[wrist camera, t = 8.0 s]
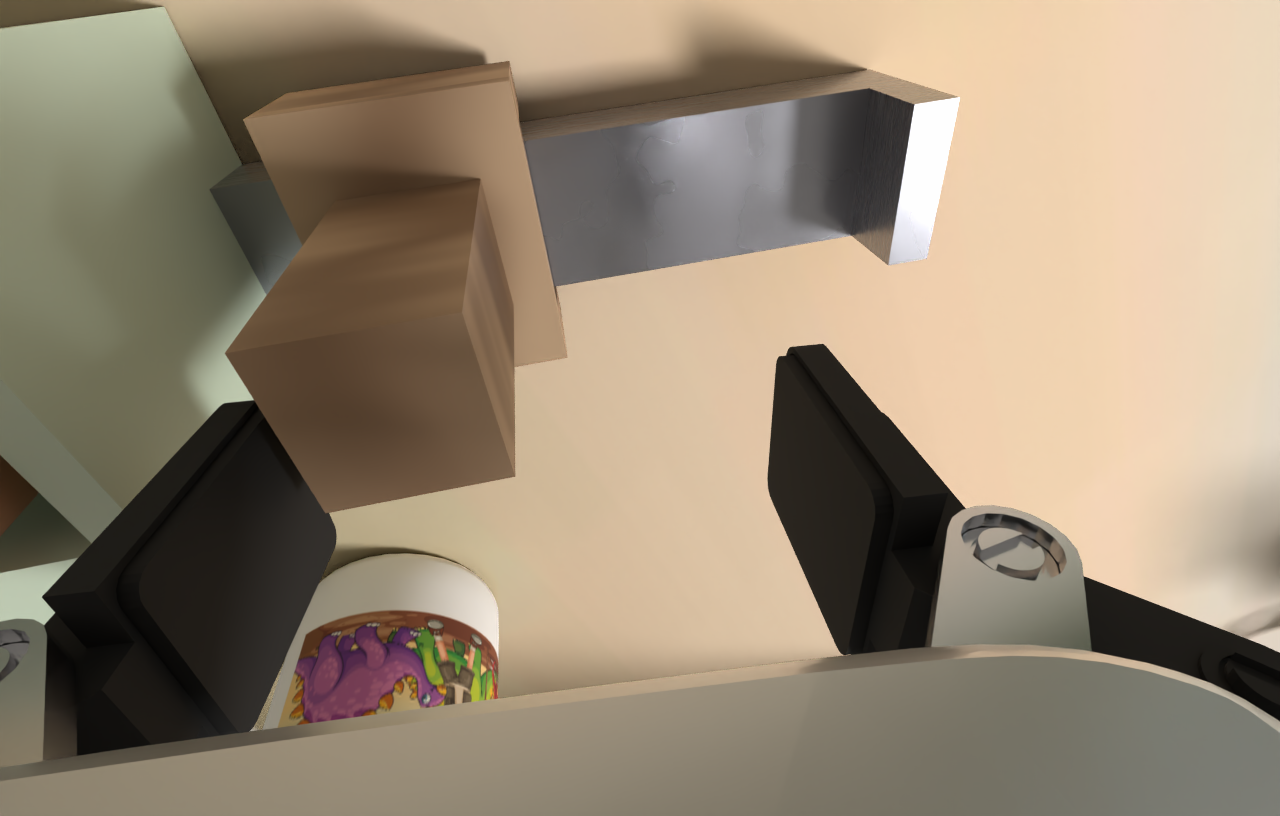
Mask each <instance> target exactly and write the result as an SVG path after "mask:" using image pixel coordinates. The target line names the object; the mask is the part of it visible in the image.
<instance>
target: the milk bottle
mask: <svg viewBox="0 0 1280 816" xmlns="http://www.w3.org/2000/svg"><path fill="white" fill-rule="evenodd" d="M498 651H499V621H498V607H497V603H496V601H495V598H494V596H493V594H492V592H491V590H490V589H489V588H488V586H487V585H486V583H485V582H484V581H483V580H482V579H481V578H480V577H478V576H477V575H476V574H475V573H474V572H473V571H471V570H469V569H467V568H465V567H463V566H462V565H460V564H457V563H454V562H451V561H449V560H446V559H443V558H438V557H433V556H429V555H420V554H409V553H403V554H385V555H380V556H373V557H367V558H364V559H361V560H358V561H355V562H351V563H349V564H347V565H345V566H343V567H341V568H339V569H337V570H335V571H334V572H332V573H331V574H330V575H329V576H327V577H326V578H324V579H323V580H322V581H321V582H320V583H319V584H318V586H317V588H316V591H315V593H314V595H313V597H312V599H311V602H310V604H309V606H308V608H307V611H306V613H305V615H304V617H303V619H302V622H301V624H300V626H299V628H298V631H297V633H296V635H295V637H294V639H293V642H292V644H291V646H290V648H289V650H288V653H287V655H286V658H285V661H284V664H283V667H282V670H281V673H280V677H279V680H278V683H277V686H276V689H275V692H274V695H273V698H272V701H271V705H270V708H269V711H268V714H267V717H266V720H265V723H264V726H263V730H265V729H272V728H280V727H287V726H295V725H302V724H309V723H317V722H324V721H331V720H339V719H346V718H354V717H361V716H369V715H376V714H384V713H392V712H399V711H407V710H414V709H422V708H430V707H437V706H445V705H452V704H460V703H468V702H475V701H483V700H491V699H498Z"/></svg>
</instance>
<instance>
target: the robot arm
mask: <svg viewBox="0 0 1280 816" xmlns="http://www.w3.org/2000/svg"><path fill="white" fill-rule="evenodd" d="M768 489H769V494H770V497H771V500H772V502H773V504H774V506H775V509H776V511H777V513H778V515H779V518H780V520H781V522H782V524H783V527H784V529H785V531H786V533H787V536H788V538H789V540H790V542H791V545H792V547H793V549H794V551H795V554H796V556H797V558H798V560H799V563H800V565H801V567H802V570H803V572H804V574H805V576H806V579H807V581H808V583H809V585H810V588H811V590H812V592H813V594H814V597H815V599H816V601H817V603H818V606H819V608H820V610H821V612H822V615H823V617H824V619H825V621H826V624H827V626H828V628H829V630H830V633H831V635H832V637H833V639H834V642H835V644H836V646H837V648H838V650H839V651H840V653H841V654H843V655H846V656H836V657H827V658H818V659H809V660H800V661H790V662H782V663H774V664H766V665H758V666H750V667H742V668H734V669H726V670H718V671H710V672H702V673H694V674H686V675H678V676H670V677H662V678H654V679H646V680H639V681H631V682H623V683H615V684H607V685H599V686H591V687H583V688H575V689H568V690H560V691H552V692H544V693H537V694H529V695H521V696H514V697H506V698H498V699H491V700H483V701H475V702H468V703H460V704H452V705H445V706H437V707H430V708H422V709H414V710H407V711H399V712H392V713H384V714H376V715H369V716H361V717H354V718H346V719H339V720H331V721H324V722H317V723H309V724H302V725H295V726H287V727H280V728H272V729H265V730H258V731H250V730H251V729H252V728H253V727H254V725H255V723H256V721H257V719H258V717H259V715H260V713H261V710H262V708H263V706H264V704H265V702H266V699H267V697H268V695H269V693H270V690H271V688H272V686H273V684H274V682H275V679H276V677H277V675H278V673H279V670H280V668H281V666H282V664H283V662H284V659H285V657H286V655H287V653H288V650H289V648H290V646H291V644H292V642H293V639H294V637H295V635H296V633H297V631H298V628H299V626H300V624H301V622H302V619H303V617H304V615H305V613H306V611H307V608H308V606H309V604H310V602H311V599H312V597H313V595H314V593H315V591H316V588H317V586H318V584H319V582H320V580H321V577H322V575H323V573H324V571H325V568H326V566H327V564H328V562H329V560H330V557H331V555H332V553H333V551H334V548H335V545H336V529H335V526H334V523H333V521H332V519H331V517H330V514H329V513H325V512H324V510H323V509H322V507H321V505H320V504H319V502H318V501H317V499H316V497H315V496H314V494H313V493H312V491H311V490H310V488H309V486H308V485H307V483H306V482H305V480H304V478H303V477H302V475H301V474H300V472H299V470H298V469H297V467H296V466H295V464H294V463H293V461H292V459H291V458H290V456H289V455H288V453H287V451H286V450H285V448H284V447H283V445H282V444H281V442H280V440H279V439H278V437H277V436H276V434H275V432H274V431H273V429H272V428H271V426H270V424H269V423H268V421H267V420H266V418H265V417H264V415H263V413H262V412H261V410H260V409H259V407H258V405H257V404H256V402H255V401H254V400H250V401H240V402H230V403H224V404H222V405H221V406H219V407H218V409H217V410H216V411H215V412H214V413H213V414H212V415H211V416H210V417H209V418H208V419H207V420H206V421H205V422H204V424H203V425H202V426H201V427H200V428H199V429H198V430H197V431H196V432H195V433H194V434H193V435H192V436H191V437H190V439H189V440H188V441H187V442H186V443H185V444H184V445H183V446H182V447H181V448H180V449H179V450H178V451H177V452H176V454H175V455H174V456H173V457H172V458H171V459H170V460H169V461H168V462H167V463H166V464H165V465H164V466H163V467H162V469H161V470H160V471H159V472H158V473H157V474H156V475H155V476H154V477H153V478H152V479H151V480H150V481H149V482H148V484H147V485H146V486H145V487H144V488H143V489H142V490H141V491H140V492H139V493H138V494H137V495H136V496H135V497H134V499H133V500H132V501H131V502H130V503H129V504H128V505H127V506H126V507H125V508H124V509H123V510H122V511H121V512H120V514H119V515H118V516H117V517H116V518H115V519H114V520H113V521H112V522H111V523H110V524H109V525H108V526H107V527H106V529H105V530H104V531H103V532H102V533H101V534H100V535H99V536H98V537H97V538H96V539H95V540H94V541H93V542H92V544H91V545H90V546H89V547H88V548H87V549H86V550H85V551H84V552H83V553H82V554H81V555H80V556H79V557H78V559H77V560H76V561H75V562H74V563H73V564H72V565H71V566H70V567H69V568H68V569H67V570H66V571H65V572H64V574H63V575H62V576H61V577H60V578H59V579H58V580H57V581H56V582H55V583H54V584H53V585H52V586H51V587H50V589H49V590H48V591H47V592H46V593H45V594H44V595H43V596H42V598H43V599H44V601H45V602H46V603H47V604H48V605H49V606H50V607H51V609H52V610H53V611H54V612H55V613H54V614H53V616H52V617H51V618H50V619H49V620H48V621H47V622H46V624H45V625H43V624H41V623H39V622H38V621H36V620H34V619H17V618H16V619H11V620H6V621H1V622H0V816H1280V653H1279V652H1277V651H1274V650H1272V649H1270V648H1268V647H1266V646H1264V645H1261V644H1259V643H1256V642H1253V641H1251V640H1248V639H1246V638H1243V637H1240V636H1238V635H1235V634H1233V633H1230V632H1227V631H1225V630H1222V629H1220V628H1217V627H1214V626H1212V625H1209V624H1206V623H1204V622H1201V621H1199V620H1196V619H1193V618H1191V617H1188V616H1186V615H1183V614H1180V613H1178V612H1175V611H1173V610H1170V609H1167V608H1165V607H1162V606H1160V605H1157V604H1154V603H1152V602H1149V601H1147V600H1144V599H1141V598H1139V597H1136V596H1134V595H1131V594H1128V593H1126V592H1123V591H1121V590H1118V589H1115V588H1113V587H1110V586H1108V585H1105V584H1102V583H1100V582H1097V581H1095V580H1092V579H1089V578H1087V577H1084V576H1083V568H1082V562H1081V559H1080V556H1079V554H1078V551H1077V549H1076V548H1075V547H1074V545H1073V544H1072V543H1071V542H1070V540H1069V539H1068V538H1067V537H1066V536H1065V535H1064V534H1062V533H1061V532H1060V531H1058V530H1057V529H1056V528H1055V527H1053V526H1052V525H1051V524H1049V523H1047V522H1045V521H1043V520H1041V519H1039V518H1037V517H1035V516H1033V515H1031V514H1028V513H1025V512H1022V511H1019V510H1016V509H1013V508H1006V507H1000V506H994V505H992V506H974V507H971V508H967V509H966V508H965V507H964V506H963V505H962V504H961V502H960V501H959V500H958V499H957V498H956V497H955V495H954V494H953V493H952V492H951V491H950V489H949V488H948V487H947V486H946V485H945V484H944V482H943V481H942V480H941V479H940V478H939V476H938V475H937V474H936V473H935V472H934V471H933V469H932V468H931V467H930V466H929V465H928V463H927V462H926V461H925V460H924V459H923V458H922V456H921V455H920V454H919V453H918V452H917V450H916V449H915V448H914V447H913V446H912V445H911V443H910V442H909V441H908V440H907V439H906V437H905V436H904V435H903V434H902V433H901V431H900V430H899V429H898V428H897V427H896V426H895V424H894V423H893V422H892V421H891V420H890V418H889V417H887V416H886V415H885V414H884V413H882V412H881V411H880V410H879V409H878V408H877V407H876V405H875V404H874V403H873V402H872V401H871V399H870V398H869V397H868V396H867V395H866V394H865V392H864V391H863V390H862V389H861V388H860V386H859V385H858V384H857V383H856V382H855V380H854V379H853V378H852V377H851V376H850V374H849V373H848V372H847V371H846V370H845V368H844V367H843V366H842V365H841V364H840V362H839V361H838V360H837V359H836V358H835V356H834V355H833V354H832V353H831V352H830V350H829V349H828V348H827V347H826V346H825V345H824V344H817V345H807V346H797V347H790V348H789V349H788V351H787V354H786V356H779V357H778V359H777V363H776V374H775V387H774V400H773V413H772V426H771V439H770V453H769V466H768ZM849 654H851V655H849ZM249 731H250V732H249Z"/></svg>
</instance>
